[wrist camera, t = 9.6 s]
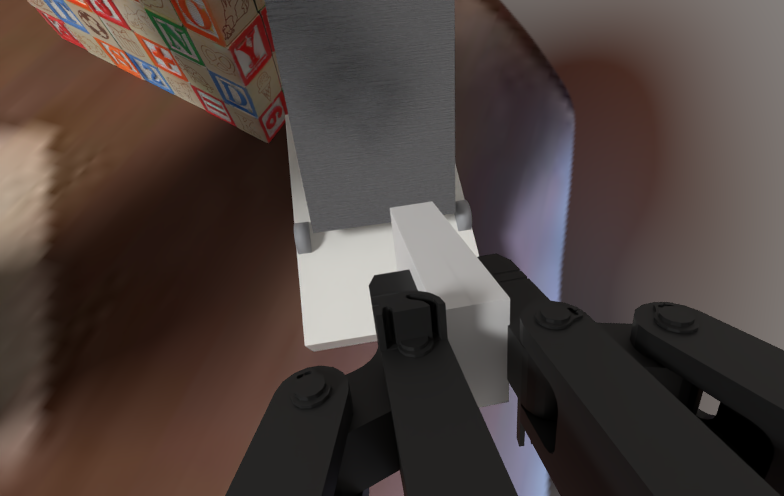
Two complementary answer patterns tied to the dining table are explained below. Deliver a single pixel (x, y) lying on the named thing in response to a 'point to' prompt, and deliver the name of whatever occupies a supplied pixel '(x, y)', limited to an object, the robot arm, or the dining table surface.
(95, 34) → the stack of blocks
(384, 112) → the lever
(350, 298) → the white slotted base
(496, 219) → the dining table surface
